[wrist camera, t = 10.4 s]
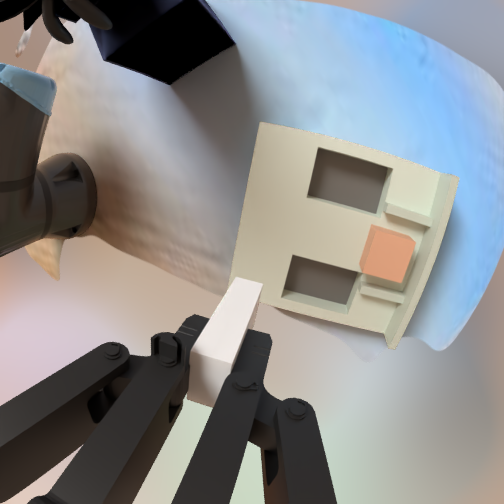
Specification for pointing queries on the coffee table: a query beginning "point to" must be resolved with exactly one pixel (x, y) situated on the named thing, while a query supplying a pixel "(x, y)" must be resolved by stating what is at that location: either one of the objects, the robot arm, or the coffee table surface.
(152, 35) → the vase
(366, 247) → the block
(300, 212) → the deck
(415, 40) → the coffee table surface
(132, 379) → the robot arm
